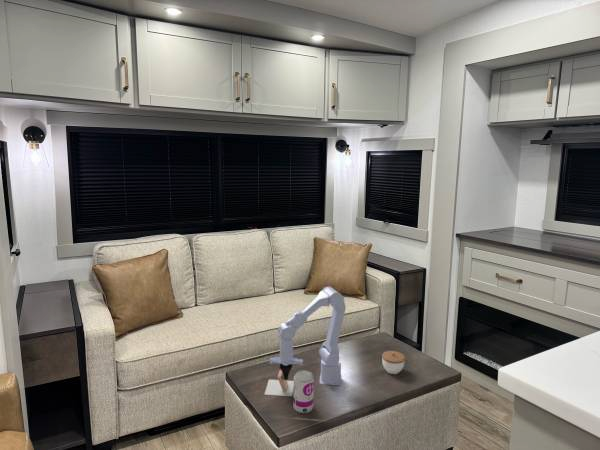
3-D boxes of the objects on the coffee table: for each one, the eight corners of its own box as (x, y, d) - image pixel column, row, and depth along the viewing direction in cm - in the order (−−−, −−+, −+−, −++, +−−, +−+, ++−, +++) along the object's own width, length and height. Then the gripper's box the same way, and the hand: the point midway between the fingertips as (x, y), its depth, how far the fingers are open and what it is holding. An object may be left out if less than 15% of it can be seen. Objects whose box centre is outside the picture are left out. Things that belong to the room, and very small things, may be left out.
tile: (287, 383, 185) (282, 369, 184) (286, 390, 179) (280, 376, 178) (284, 384, 185) (279, 370, 184) (282, 391, 179) (277, 377, 178)
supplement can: (317, 409, 167) (317, 376, 165) (300, 416, 163) (301, 382, 160) (305, 400, 174) (306, 367, 171) (289, 406, 169) (289, 373, 167)
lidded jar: (392, 379, 191) (393, 360, 189) (376, 368, 200) (377, 351, 198) (408, 372, 197) (409, 354, 195) (392, 363, 206) (393, 345, 204)
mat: (294, 382, 187) (294, 380, 187) (291, 397, 176) (291, 396, 176) (268, 380, 188) (268, 379, 188) (264, 395, 177) (264, 394, 177)
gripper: (268, 353, 175) (268, 382, 178) (302, 355, 174) (301, 384, 176) (271, 346, 182) (271, 374, 185) (303, 347, 181) (303, 376, 183)
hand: (286, 378), depth 181 cm, fingers closed
